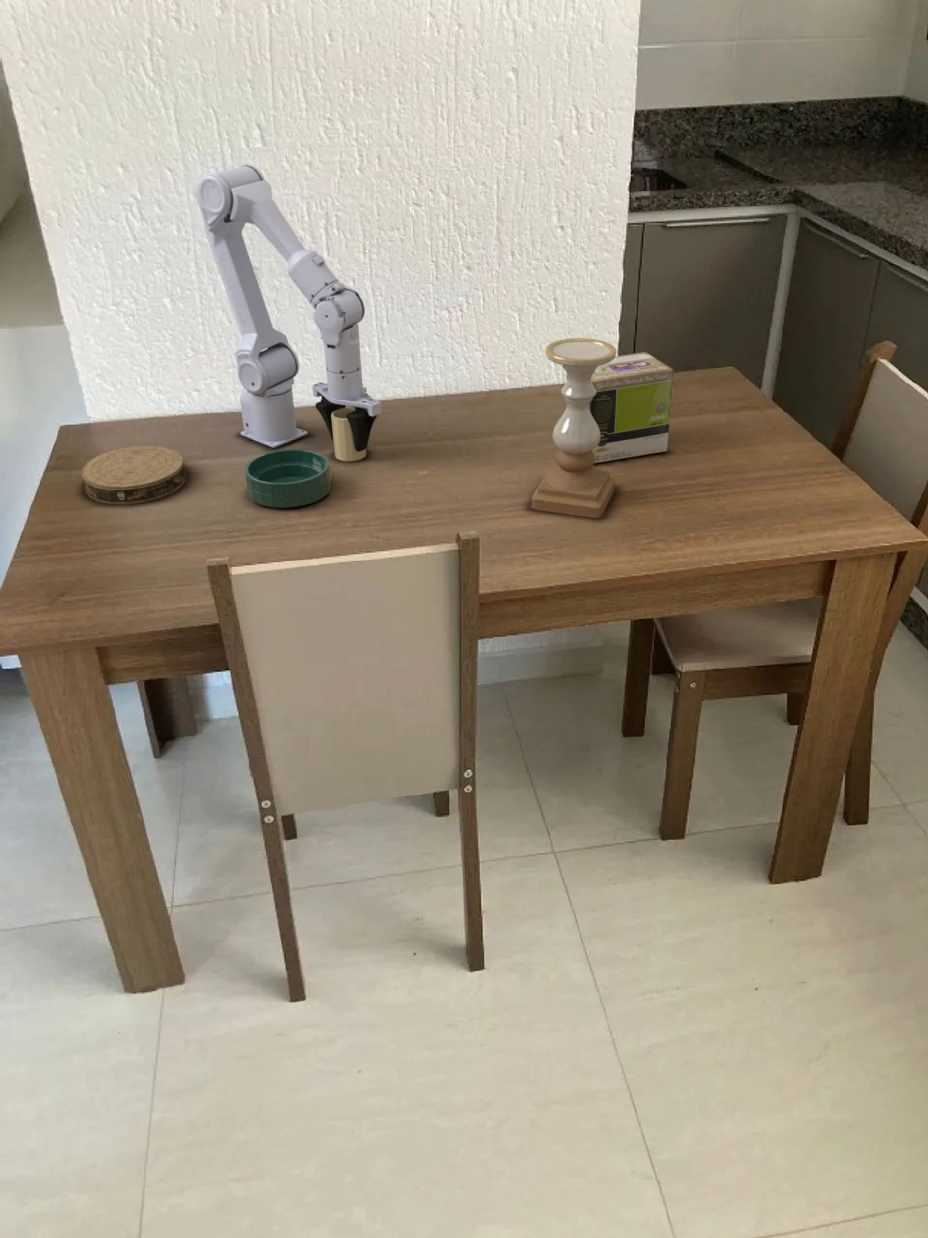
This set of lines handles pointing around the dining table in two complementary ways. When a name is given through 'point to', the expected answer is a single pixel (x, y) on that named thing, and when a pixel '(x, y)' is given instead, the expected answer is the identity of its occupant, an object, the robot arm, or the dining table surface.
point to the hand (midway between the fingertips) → (350, 445)
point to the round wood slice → (134, 475)
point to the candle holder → (576, 435)
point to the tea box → (631, 406)
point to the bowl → (288, 478)
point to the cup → (344, 436)
